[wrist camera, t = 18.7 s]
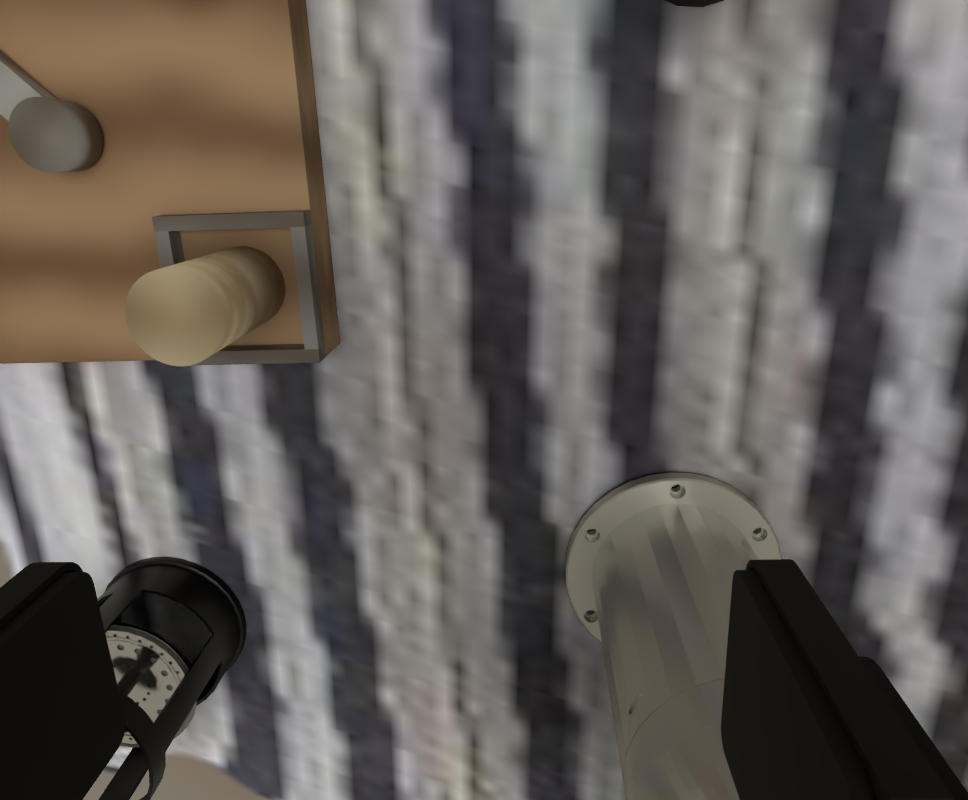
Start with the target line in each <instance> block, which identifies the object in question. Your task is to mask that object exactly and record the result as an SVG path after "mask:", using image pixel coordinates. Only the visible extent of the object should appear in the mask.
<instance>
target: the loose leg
mask: <svg viewBox="0 0 968 800" xmlns="http://www.w3.org/2000/svg"><path fill="white" fill-rule="evenodd" d="M284 298H285V282H284V278H283V275H282V273H281V270H280V269H279V267H278V265H277V264H276V263H275V262H274V260H273V259H272V258H271V257H269V256H268V255H267V254H265V253H264V252H262V251H260V250H258V249H256V248H252V247H247V246H237V247H232V248H229V249H225V250H222V251H219V252H215V253H212V254H208V255H205V256H201V257H198V258H195V259H191V260H188V261H184V262H181V263H178V264H174V265H171V266H167V267H164V268H160V269H157V270H154V271H151V272H148V273H146V274H145V275H143V276H141V277H140V278H139V279H138V280H137V281H136V282H135V283H134V284H133V286H132V287H131V289H130V291H129V293H128V295H127V299H126V304H125V317H126V322H127V326H128V329H129V331H130V333H131V335H132V337H133V339H134V340H135V342H136V343H137V344H138V346H139V347H140V348H141V349H142V350H143V351H144V352H145V353H146V354H148V355H149V356H151V357H152V358H154V359H155V360H157V361H159V362H162V363H164V364H168V365H172V366H190V365H194V364H197V363H199V362H201V361H203V360H205V359H206V358H208V357H210V356H211V355H213V354H215V353H216V352H218V351H219V350H221V349H223V348H224V347H226V346H228V345H229V344H231V343H232V342H234V341H236V340H237V339H239V338H241V337H242V336H244V335H245V334H247V333H249V332H250V331H252V330H254V329H255V328H257V327H258V326H260V325H262V324H263V323H265V322H266V321H268V320H270V319H271V318H272V317H274V316H275V315H276V314H277V313H278V311H279V310H280V308H281V306H282V304H283V302H284Z"/></svg>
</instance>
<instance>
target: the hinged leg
mask: <svg viewBox="0 0 968 800" xmlns="http://www.w3.org/2000/svg"><path fill="white" fill-rule="evenodd" d="M0 114H1V115H2V116H3V117H4V118H5V119H7V120H8V121H9V123H8V131H9V137H10V140H11V143H12V146H13V148H14V149H15V151H16V153H17V154H18V155H19V157H20V158H21V159H22V160H23V161H24V162H25V163H27V164H28V165H29V166H31V167H33V168H35V169H37V170H40V171H44V172H72V171H82V170H86V169H88V168H90V167H91V166H92V165H93V164H95V162H96V161H97V160H98V158H99V156H100V154H101V150H102V134H101V130H100V127H99V125H98V123H97V121H96V119H95V118H94V117H93V115H92V114H91V113H90V112H89V111H88V110H87V109H86V108H84V107H83V106H81V105H80V104H77V103H75V102H72V101H67V100H60V99H56V98H55V97H53V96H52V95H51V94H50V93H49V92H48V91H46V90H45V89H44V88H43V87H42V86H41V85H39V84H38V83H37V82H36V81H35V80H34V79H32V78H31V77H30V76H29V75H28V74H27V73H25V72H24V71H23V70H22V69H21V68H20V67H18V66H17V65H16V64H15V63H14V62H13V61H11V60H10V59H9V58H8V57H7V56H6V55H4V54H3V53H2V52H1V51H0Z"/></svg>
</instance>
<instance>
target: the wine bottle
mask: <svg viewBox="0 0 968 800" xmlns="http://www.w3.org/2000/svg"><path fill="white" fill-rule="evenodd" d="M665 1H668V2H670V3H672V4H675V5H677V6H695V7H704V6H707V5H710V4H714V3H717V2H720V1H724V0H665Z"/></svg>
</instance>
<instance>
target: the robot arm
mask: <svg viewBox="0 0 968 800" xmlns="http://www.w3.org/2000/svg"><path fill="white" fill-rule="evenodd" d="M674 485H679V486H678V487H677V488H672V487H673V486H674ZM756 528H758V529H757V530H755V529H756ZM589 529H595V530H593V531H588V530H589ZM565 574H566V586H567V590H568V595H569V599H570V603H571V605H572V607H573V609H574V611H575V613H576V616H577V618H578V619H579V620H580V622H581V623H582V624H583V626H584V627H585V628H586V630H587V631H588V632H589V633H590V634H591V635H592V636H594V637H595V638H596V639H597V640H598V641H599V642H600V643H601V644H602V647H603V653H604V660H605V666H606V672H607V679H608V685H609V691H610V698H611V704H612V711H613V717H614V723H615V730H616V736H617V742H618V749H619V755H620V761H621V768H622V774H623V780H624V787H625V793H626V799H627V800H968V792H967V791H966V790H965V788H964V787H963V785H962V784H961V782H960V781H959V780H958V778H957V777H956V775H955V774H954V772H953V771H952V770H951V768H950V767H949V765H948V764H947V762H946V761H945V760H944V758H943V757H942V755H941V754H940V752H939V751H938V750H937V748H936V747H935V745H934V744H933V742H932V741H931V740H930V738H929V737H928V735H927V734H926V732H925V731H924V729H923V728H922V727H921V725H920V724H919V722H918V721H917V719H916V718H915V717H914V715H913V714H912V712H911V711H910V709H909V708H908V707H907V705H906V704H905V702H904V701H903V699H902V698H901V697H900V695H899V694H898V692H897V691H896V689H895V688H894V687H893V685H892V684H891V682H890V681H889V679H888V678H887V677H886V675H885V674H884V672H883V671H882V669H881V668H880V667H879V666H878V665H877V664H876V662H875V661H874V660H872V659H870V658H868V657H858V655H857V654H856V652H855V651H854V649H853V648H852V646H851V645H850V643H849V642H848V640H847V639H846V637H845V636H844V634H843V633H842V631H841V630H840V628H839V627H838V625H837V624H836V622H835V621H834V619H833V618H832V616H831V615H830V613H829V612H828V610H827V609H826V607H825V606H824V604H823V603H822V601H821V600H820V599H819V597H818V596H817V594H816V593H815V591H814V590H813V588H812V587H811V585H810V584H809V582H808V581H807V579H806V578H805V576H804V575H803V573H802V572H801V570H800V569H799V567H798V566H797V564H796V563H795V562H794V561H793V560H790V559H782V556H781V552H780V547H779V543H778V539H777V537H776V535H775V533H774V531H773V529H772V527H771V525H770V523H769V522H768V520H767V519H766V518H765V516H764V515H763V513H762V512H761V510H760V509H759V508H758V507H757V506H756V505H755V504H754V503H753V502H752V501H751V500H750V499H749V498H748V497H747V496H746V495H744V494H743V493H741V492H740V491H738V490H737V489H735V488H734V487H732V486H731V485H729V484H726V483H724V482H721V481H719V480H716V479H714V478H712V477H707V476H702V475H698V474H693V473H672V472H669V473H662V474H655V475H648V476H645V477H642V478H639V479H636V480H633V481H630V482H627V483H626V484H624V485H622V486H620V487H618V488H616V489H614V490H612V491H610V492H609V493H608V494H607V495H605V496H604V497H603V498H601V499H600V500H599V501H598V502H596V503H595V504H594V505H593V506H592V507H591V508H590V510H589V511H588V512H587V513H586V514H585V515H584V516H583V518H582V519H581V521H580V522H579V524H578V526H577V528H576V529H575V531H574V533H573V534H572V537H571V540H570V543H569V546H568V550H567V555H566V564H565ZM125 726H126V721H125V715H124V710H123V706H122V702H121V698H120V694H119V689H118V685H117V681H116V677H115V672H114V668H113V664H112V660H111V655H110V651H109V647H108V643H107V638H106V634H105V630H104V626H103V621H102V617H101V613H100V609H99V605H98V600H97V596H96V592H95V588H94V583H93V580H92V578H91V576H90V575H89V574H88V573H86V572H83V571H82V569H81V568H80V566H79V565H78V564H76V563H73V562H38V563H32V564H30V565H28V566H26V567H25V568H24V569H23V570H22V571H20V572H19V573H18V574H17V575H15V576H14V577H13V578H12V579H10V580H9V581H8V582H7V583H6V584H4V585H3V586H2V587H1V588H0V800H83V798H84V797H85V795H86V794H87V792H88V791H89V790H90V788H91V787H92V785H93V784H94V782H95V781H96V779H97V778H98V777H99V775H100V774H101V772H102V771H103V769H104V768H105V767H106V765H107V764H108V762H109V761H110V759H111V758H112V756H113V755H114V754H115V752H116V751H117V749H118V748H119V746H120V744H121V742H122V740H123V737H124V733H125Z"/></svg>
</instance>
